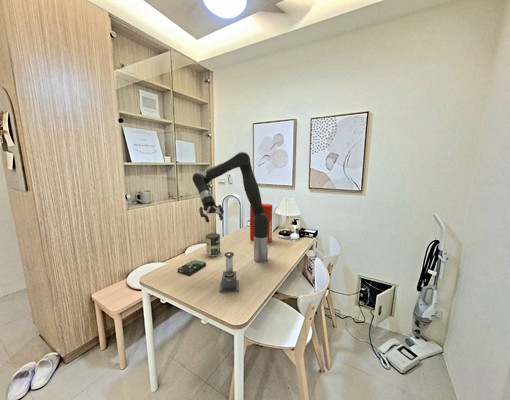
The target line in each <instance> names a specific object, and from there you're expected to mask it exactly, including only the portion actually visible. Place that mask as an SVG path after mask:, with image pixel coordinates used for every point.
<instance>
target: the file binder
mask: <svg viewBox="0 0 510 400" xmlns="http://www.w3.org/2000/svg"><path fill="white" fill-rule="evenodd" d="M249 204H250V203H249ZM262 206H263V209H264V211H265V213H266V215H267V218H268V236H267V244H270V243H271V242H272V240H273V204H271V203H270V204H269V203H262ZM249 208H250V209H249V217H250V218H249V219H250V221H249V241H251V242H254V214H253V210H252V206H251V204H250V205H249Z"/></svg>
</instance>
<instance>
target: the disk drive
mask: <svg viewBox="0 0 510 400" xmlns="http://www.w3.org/2000/svg"><path fill="white" fill-rule="evenodd" d="M206 266H207V263H206V262H205V261H202V260H197V259H193V260H190V261H189V262H187V263H186V264H184V265H181V266H179V267H178V268H177V273H180V274H183V275H185V276H188V277H191V276H192V275H193V274H195V273H197V272H198V271H200V270H202V269H203V268H205V267H206Z"/></svg>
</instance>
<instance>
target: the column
mask: <svg viewBox="0 0 510 400" xmlns="http://www.w3.org/2000/svg"><path fill="white" fill-rule="evenodd" d="M234 256H235V253H234V252H232V251H227V252H224V257H225V272H226V277H233V270H234V267H233V263H234V262H233V259H234V258H233V257H234Z"/></svg>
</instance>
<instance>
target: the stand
mask: <svg viewBox="0 0 510 400" xmlns="http://www.w3.org/2000/svg"><path fill="white" fill-rule="evenodd" d="M237 277H238V276H237V271H235V270H234V271H233V277H226V271H223V272H222V277H221V281H220V286H219V293H222V294H223V293H239V291H240V290H239V289H240V280H239V279H237Z"/></svg>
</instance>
